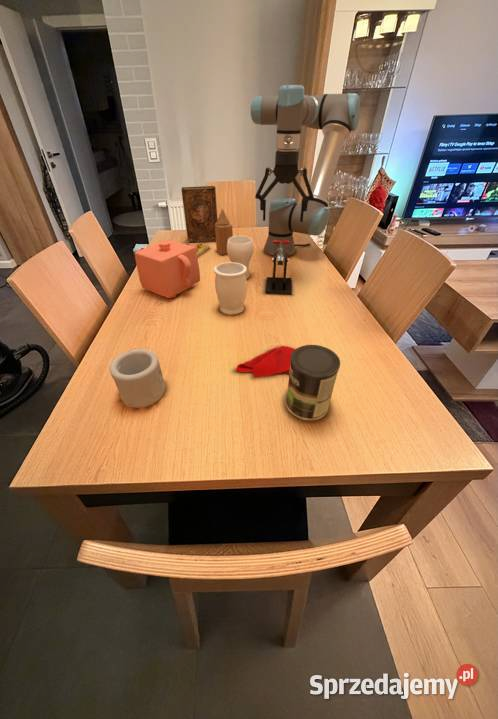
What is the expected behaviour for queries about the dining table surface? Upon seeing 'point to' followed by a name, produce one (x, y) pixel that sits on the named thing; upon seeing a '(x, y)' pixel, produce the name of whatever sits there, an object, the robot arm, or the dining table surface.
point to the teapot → (168, 267)
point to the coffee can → (311, 381)
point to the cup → (240, 251)
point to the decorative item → (222, 233)
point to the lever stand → (279, 280)
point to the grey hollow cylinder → (138, 377)
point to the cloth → (269, 362)
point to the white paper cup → (231, 286)
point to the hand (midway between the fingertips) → (282, 220)
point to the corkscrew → (280, 256)
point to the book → (200, 213)
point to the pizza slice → (200, 247)
